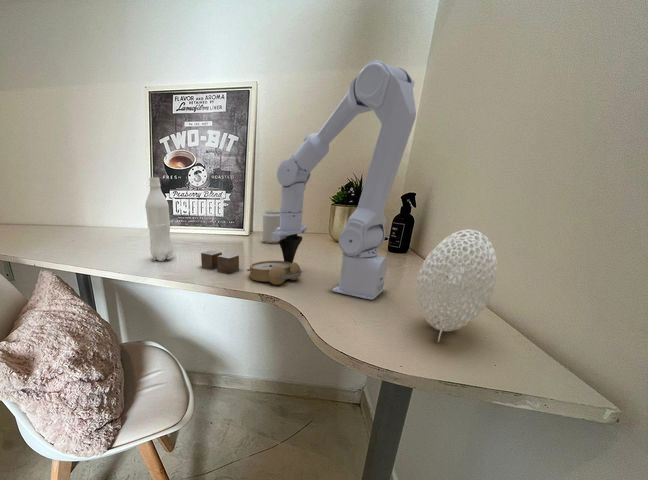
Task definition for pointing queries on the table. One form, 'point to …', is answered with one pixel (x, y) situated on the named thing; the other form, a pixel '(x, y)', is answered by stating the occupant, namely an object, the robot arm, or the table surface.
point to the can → (270, 224)
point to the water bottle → (158, 222)
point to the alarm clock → (274, 271)
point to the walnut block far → (210, 259)
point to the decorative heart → (456, 280)
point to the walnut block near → (228, 263)
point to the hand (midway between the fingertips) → (288, 262)
